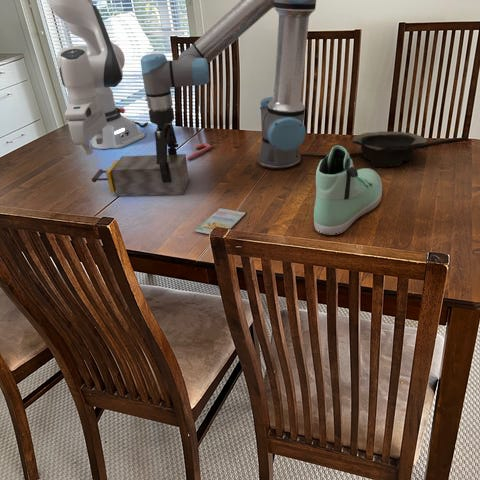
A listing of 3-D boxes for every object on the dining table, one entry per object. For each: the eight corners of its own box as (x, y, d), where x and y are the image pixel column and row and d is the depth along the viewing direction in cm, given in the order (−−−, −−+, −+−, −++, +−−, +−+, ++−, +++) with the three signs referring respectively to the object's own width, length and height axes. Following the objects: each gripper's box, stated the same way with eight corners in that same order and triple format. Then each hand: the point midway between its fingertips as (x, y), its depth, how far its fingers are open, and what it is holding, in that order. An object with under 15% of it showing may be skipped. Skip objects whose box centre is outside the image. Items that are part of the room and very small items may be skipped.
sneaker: (389, 187, 148) (396, 123, 138) (356, 242, 123) (361, 168, 112) (346, 181, 154) (350, 119, 144) (306, 232, 129) (307, 161, 118)
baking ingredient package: (194, 230, 133) (219, 207, 144) (194, 231, 133) (219, 208, 144) (222, 235, 129) (246, 211, 141) (222, 237, 129) (246, 213, 141)
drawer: (92, 193, 158) (87, 173, 154) (103, 180, 167) (98, 160, 163) (172, 191, 155) (168, 170, 151) (178, 178, 164) (175, 157, 160)
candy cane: (177, 158, 182) (177, 154, 181) (202, 145, 192) (201, 141, 191) (189, 161, 179) (189, 157, 178) (214, 147, 189) (213, 144, 188)
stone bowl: (385, 177, 154) (386, 150, 149) (337, 159, 174) (336, 134, 170) (441, 159, 162) (444, 132, 158) (389, 143, 183) (390, 119, 178)
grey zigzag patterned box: (117, 196, 157) (111, 170, 152) (127, 181, 167) (121, 156, 162) (182, 194, 155) (178, 167, 150) (189, 179, 164) (185, 154, 159)
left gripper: (87, 97, 157) (97, 138, 164) (61, 116, 140) (73, 160, 147) (106, 96, 157) (114, 137, 164) (82, 115, 139) (93, 160, 146)
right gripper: (157, 98, 157) (167, 160, 168) (138, 121, 136) (151, 190, 148) (180, 97, 156) (188, 159, 167) (164, 120, 136) (174, 189, 147)
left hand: (95, 148), depth 155 cm, fingers open, 8 cm apart
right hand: (170, 174), depth 157 cm, fingers closed on grey zigzag patterned box, 11 cm apart
